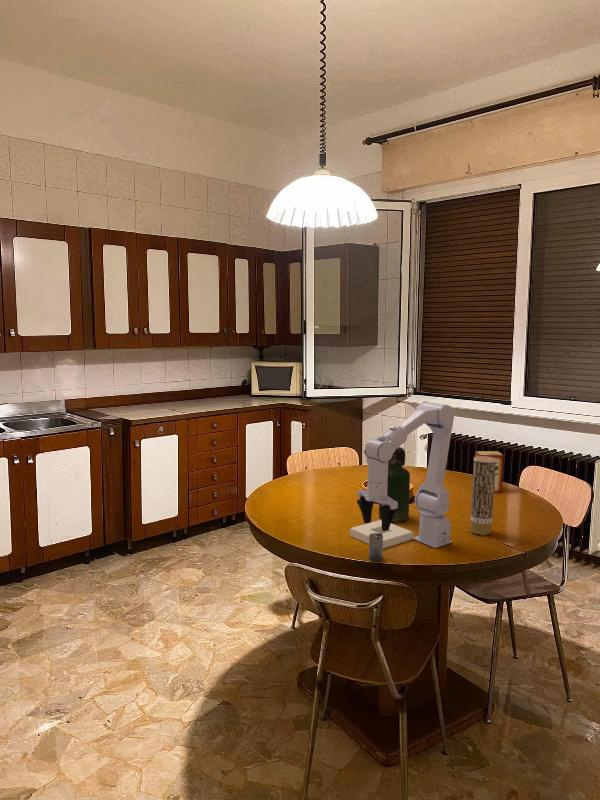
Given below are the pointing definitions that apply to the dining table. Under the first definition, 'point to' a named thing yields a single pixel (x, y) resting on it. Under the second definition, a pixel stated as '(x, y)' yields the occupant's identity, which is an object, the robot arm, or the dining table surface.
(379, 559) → the peg
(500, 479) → the baking soda box
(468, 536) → the dining table surface
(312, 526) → the dining table surface
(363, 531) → the socket
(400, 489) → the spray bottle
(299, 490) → the dining table surface
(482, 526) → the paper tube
